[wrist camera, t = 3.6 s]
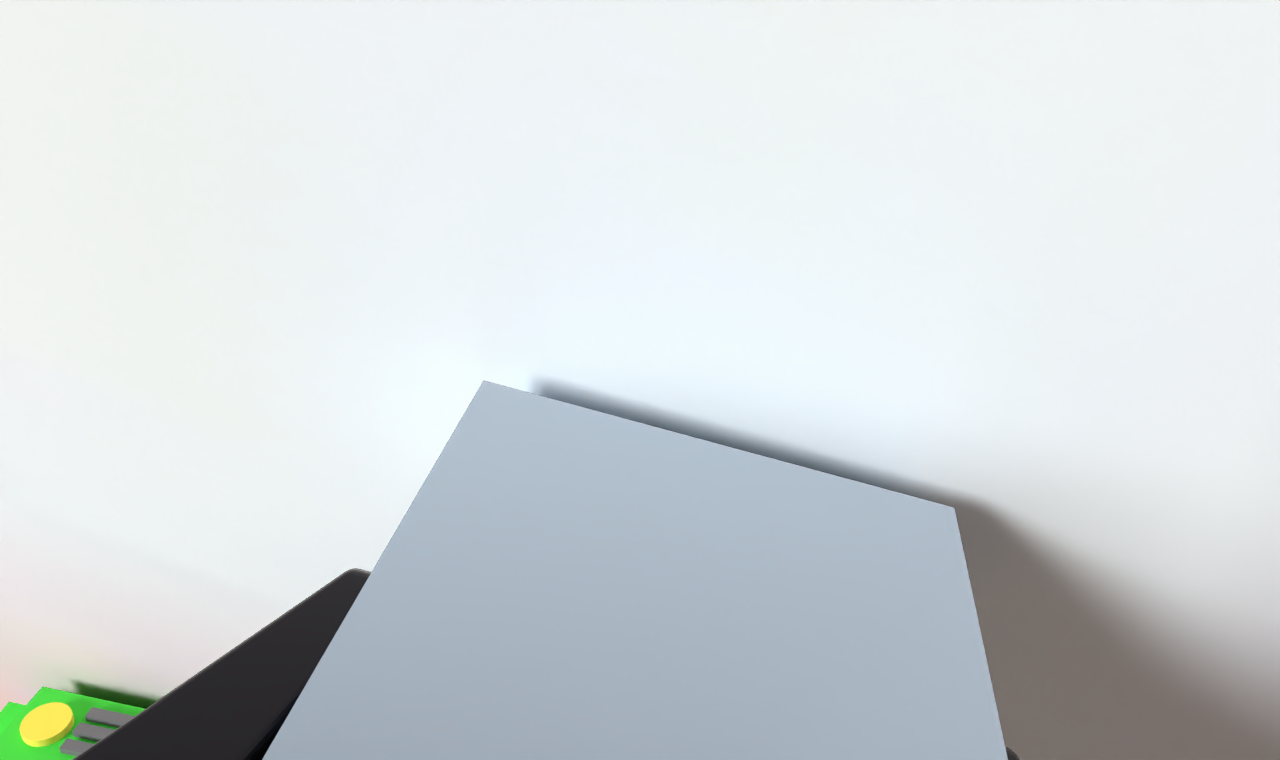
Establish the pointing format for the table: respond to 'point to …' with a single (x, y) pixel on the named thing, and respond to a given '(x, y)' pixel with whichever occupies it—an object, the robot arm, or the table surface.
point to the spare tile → (649, 609)
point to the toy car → (58, 725)
